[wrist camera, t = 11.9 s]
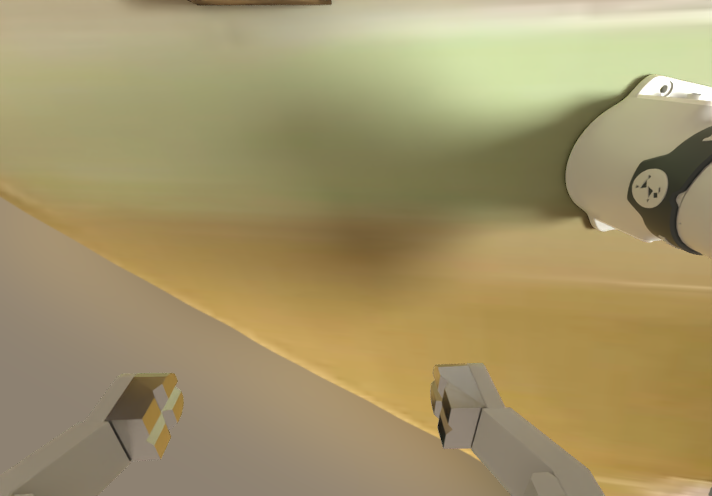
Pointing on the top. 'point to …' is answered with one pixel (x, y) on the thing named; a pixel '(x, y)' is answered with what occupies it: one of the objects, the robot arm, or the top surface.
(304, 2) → the box
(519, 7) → the top surface
